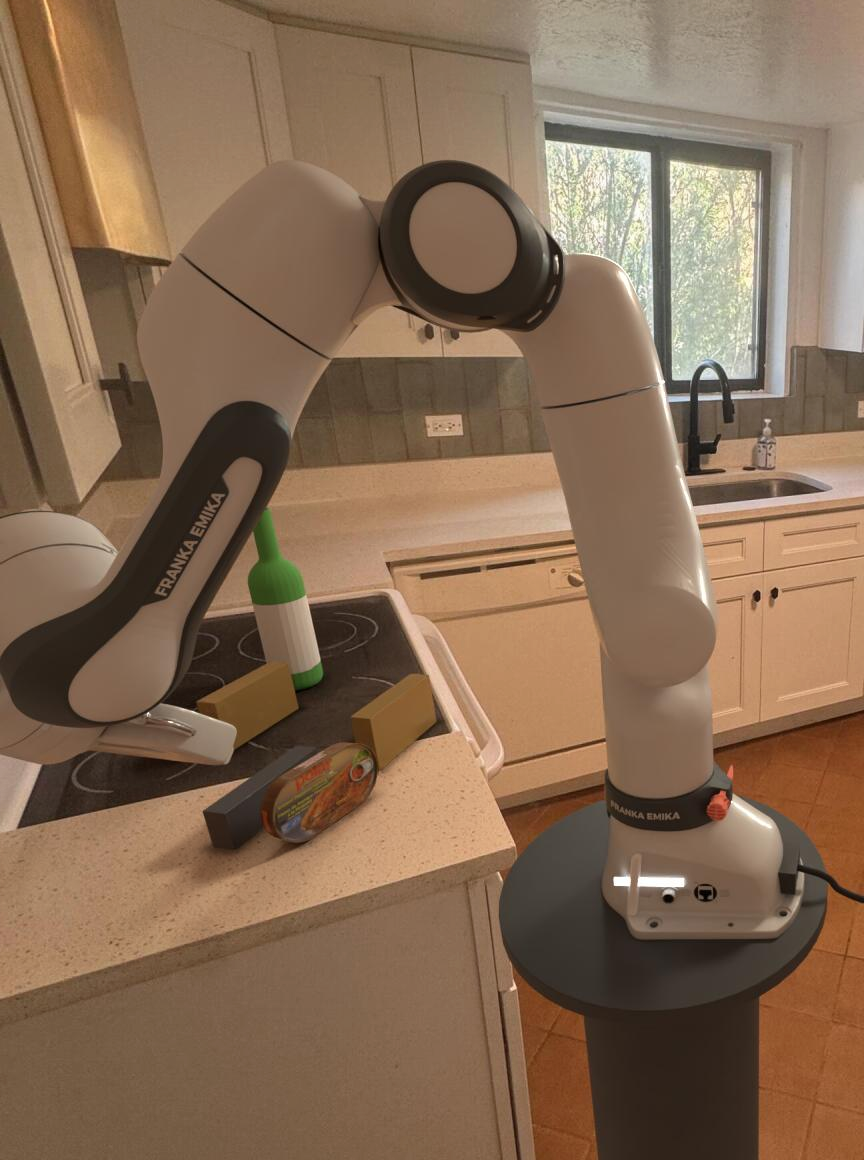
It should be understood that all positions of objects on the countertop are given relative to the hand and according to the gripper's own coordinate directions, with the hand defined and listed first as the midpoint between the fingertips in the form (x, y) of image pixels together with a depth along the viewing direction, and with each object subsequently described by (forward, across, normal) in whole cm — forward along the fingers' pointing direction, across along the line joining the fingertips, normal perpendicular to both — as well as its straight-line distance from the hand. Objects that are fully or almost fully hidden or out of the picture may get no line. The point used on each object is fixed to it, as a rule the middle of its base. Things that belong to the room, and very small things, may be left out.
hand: (183, 750), depth 76 cm
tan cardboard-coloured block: (+37, +26, -10) cm, 46 cm away
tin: (+24, 0, +2) cm, 24 cm away
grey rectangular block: (+24, +8, +2) cm, 25 cm away
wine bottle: (+48, +31, -21) cm, 60 cm away
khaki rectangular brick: (+37, +2, -10) cm, 38 cm away
